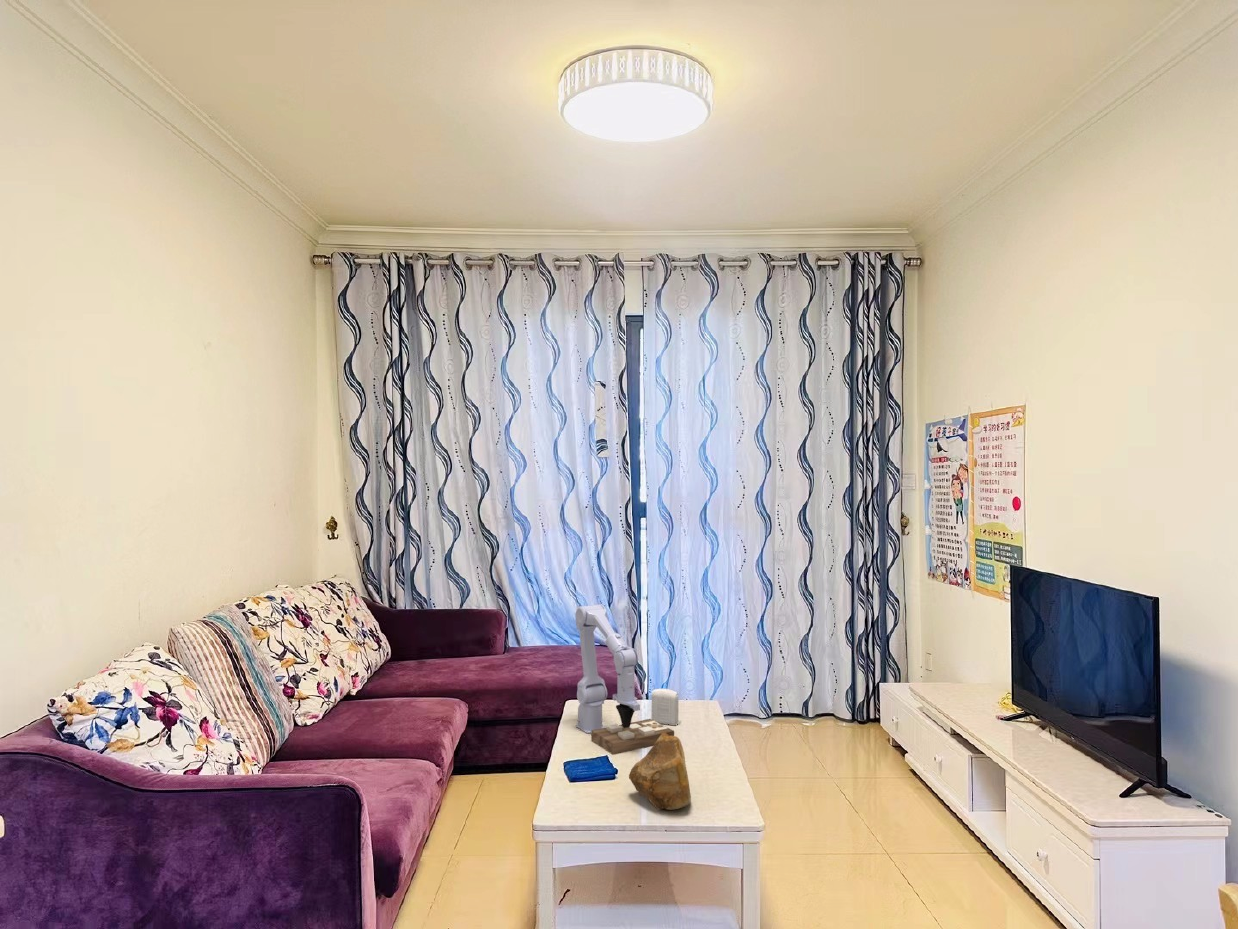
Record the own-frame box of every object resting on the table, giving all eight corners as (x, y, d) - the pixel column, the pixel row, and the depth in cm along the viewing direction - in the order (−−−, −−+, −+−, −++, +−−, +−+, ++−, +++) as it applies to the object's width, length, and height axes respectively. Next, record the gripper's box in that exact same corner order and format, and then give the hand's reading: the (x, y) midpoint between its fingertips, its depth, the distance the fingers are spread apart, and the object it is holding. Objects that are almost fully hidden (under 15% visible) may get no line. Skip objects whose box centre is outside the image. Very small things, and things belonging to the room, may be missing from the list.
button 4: (638, 732, 254) (638, 728, 254) (648, 730, 256) (648, 726, 256) (644, 736, 250) (644, 731, 250) (654, 733, 252) (654, 729, 252)
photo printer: (680, 723, 274) (680, 689, 274) (676, 726, 270) (676, 692, 270) (653, 719, 278) (653, 686, 278) (649, 723, 274) (649, 689, 274)
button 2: (618, 736, 250) (617, 732, 250) (628, 734, 252) (628, 730, 252) (624, 740, 246) (624, 736, 246) (634, 738, 248) (634, 733, 248)
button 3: (626, 729, 261) (626, 725, 261) (635, 727, 263) (635, 723, 263) (632, 732, 257) (632, 728, 257) (642, 730, 259) (641, 726, 259)
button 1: (606, 729, 257) (606, 725, 257) (616, 727, 259) (616, 723, 259) (612, 733, 253) (612, 729, 253) (622, 731, 255) (622, 727, 255)
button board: (591, 740, 255) (591, 729, 255) (650, 728, 267) (650, 718, 267) (613, 754, 242) (613, 742, 242) (674, 741, 254) (674, 730, 255)
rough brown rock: (630, 782, 222) (625, 733, 222) (685, 777, 222) (681, 727, 222) (631, 821, 199) (626, 765, 198) (693, 815, 199) (688, 759, 198)
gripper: (647, 689, 245) (648, 731, 245) (625, 679, 258) (625, 719, 257) (629, 692, 241) (629, 734, 241) (607, 682, 254) (607, 722, 254)
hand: (626, 727), depth 249 cm, fingers closed
